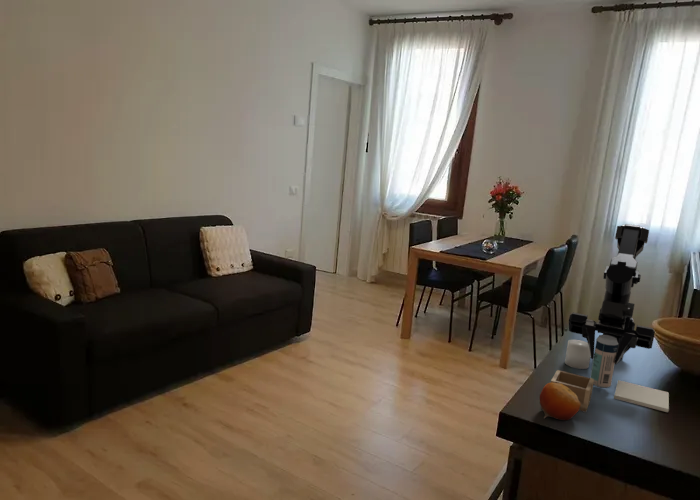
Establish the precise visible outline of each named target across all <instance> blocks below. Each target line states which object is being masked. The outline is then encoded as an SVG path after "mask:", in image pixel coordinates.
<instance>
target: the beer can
mask: <svg viewBox="0 0 700 500" xmlns="http://www.w3.org/2000/svg"><path fill="white" fill-rule="evenodd" d="M595 341H596V342H595V346H594V356H593V359H592V365H591V372H590V377H589V378H592V379H594V383H593V387H594V386H595V387H597V388H600V389H607V388H610V387H611V386H612V383H613V375H614V369H615V365H616V364H615V358H616V353H617V347H618V342H617V338H615V337H613V336H609V335H603V334H599V335H598V337H596V338H595Z"/></svg>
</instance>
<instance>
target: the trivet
mask: <svg viewBox="0 0 700 500" xmlns="http://www.w3.org/2000/svg"><path fill="white" fill-rule="evenodd" d="M669 397H670V394H669V392H668V391H664V390H660V389H658V388H657V389H655V388H652V387H648V386H643V385H639V384H636V383H632V382H627V381H624V380H619V379H618V380H617V383H616V387H615V392H614V395H613V399H614V400H619V401H623V402H627V403H630V404H633V405H634V404H635V405H638V406H641V407H644V408H645V407H646V408H649V409H654V410H656V411H661V412H665V413H669V411H670V406H669V405H670V403H669V400H670V398H669Z"/></svg>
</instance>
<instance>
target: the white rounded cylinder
mask: <svg viewBox="0 0 700 500" xmlns="http://www.w3.org/2000/svg"><path fill="white" fill-rule="evenodd" d="M565 352H566V353H565V359H564V364H566V366H568V367H570V368H573V369H578V370H579V369H580V370H587V369H589V367H590V363H591V362H590V361H591V355H590V349H589V345H588V342H587V341H584V340H582V339H581V340H578V339H568V341H567V347H566V351H565Z"/></svg>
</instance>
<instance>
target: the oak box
mask: <svg viewBox="0 0 700 500" xmlns="http://www.w3.org/2000/svg"><path fill="white" fill-rule="evenodd" d="M551 382H553V383H561V384H563V385H564V386H566V387H568V388H569V389H570V390H571V391H572V392H574V393H575V394H576V395H577V397H578V400H579V401H580V403H581V406H580V408H579V411H580V412H584V413H587V412H588V408H589V406H590V402H591V400H592V394H593V387H594V385H593V383H594V379H592V378H590V377H589V376H583V375H579V374H575V373H572V372H571V373H570V372H568V371H563V370H561V369H560V370H559V369H557V370H556V371H555V373H554V375H553V376H552V378H551V379H550V383H551ZM579 411H578V412H579Z"/></svg>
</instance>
